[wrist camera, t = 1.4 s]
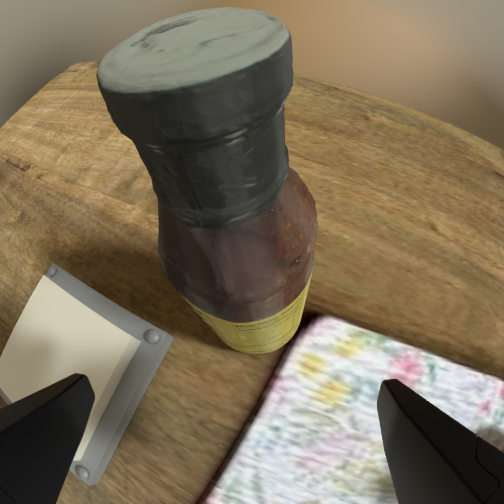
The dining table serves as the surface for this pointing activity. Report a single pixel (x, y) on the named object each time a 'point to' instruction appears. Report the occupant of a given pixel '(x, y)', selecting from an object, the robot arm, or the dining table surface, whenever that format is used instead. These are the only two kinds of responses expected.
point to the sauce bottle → (220, 166)
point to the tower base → (129, 382)
